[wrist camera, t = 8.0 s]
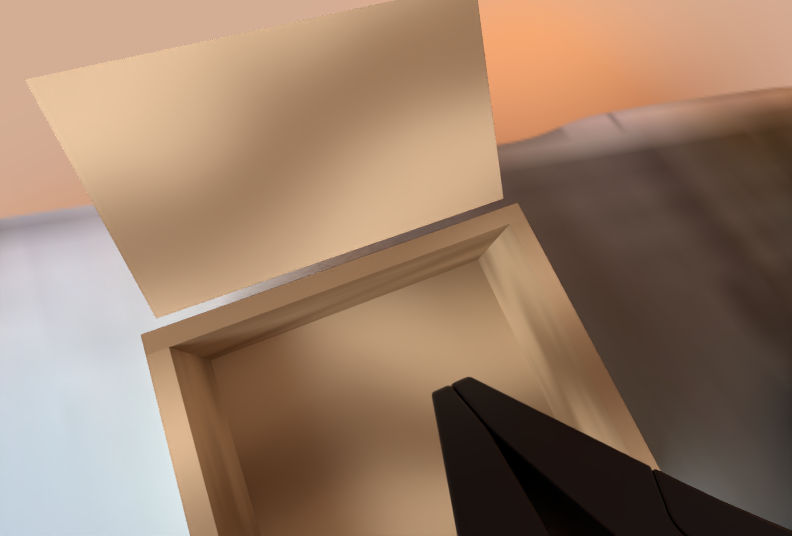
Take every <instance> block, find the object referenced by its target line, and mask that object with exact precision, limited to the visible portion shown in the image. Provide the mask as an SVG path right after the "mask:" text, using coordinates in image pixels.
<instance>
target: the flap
mask: <svg viewBox="0 0 792 536" xmlns="http://www.w3.org/2000/svg"><path fill="white" fill-rule="evenodd" d="M25 81H26V83H27V84H28V86H29V88H30V90H31V91H32V93H33V95H34V97H35V99H36V101H37V103H38V104H39V106H40V108H41V110H42V112H43V114H44V115H45V117H46V119H47V121H48V123H49V124H50V126H51V128H52V130H53V132H54V134H55V135H56V137H57V139H58V141H59V142H60V144H61V146H62V148H63V150H64V152H65V153H66V155H67V157H68V159H69V161H70V162H71V164H72V166H73V168H74V170H75V171H76V173H77V175H78V177H79V179H80V181H81V182H82V184H83V186H84V188H85V190H86V192H87V193H88V195H89V197H90V199H91V201H92V202H93V204H94V206H95V208H96V210H97V212H98V213H99V215H100V217H101V219H102V221H103V222H104V224H105V226H106V228H107V230H108V232H109V233H110V235H111V237H112V239H113V241H114V242H115V244H116V246H117V248H118V250H119V251H120V253H121V255H122V257H123V259H124V261H125V262H126V264H127V266H128V268H129V270H130V271H131V273H132V275H133V277H134V279H135V281H136V282H137V284H138V286H139V288H140V290H141V291H142V293H143V295H144V297H145V299H146V300H147V302H148V304H149V306H150V308H151V310H152V311H153V313H154V315H155V317H156V318H159V317H162V316H165V315H168V314H170V313H173V312H176V311H179V310H182V309H185V308H188V307H191V306H194V305H196V304H199V303H202V302H205V301H208V300H211V299H214V298H217V297H220V296H223V295H225V294H228V293H231V292H234V291H237V290H240V289H243V288H246V287H249V286H251V285H254V284H257V283H260V282H263V281H266V280H269V279H272V278H275V277H278V276H280V275H283V274H286V273H289V272H292V271H295V270H298V269H301V268H304V267H307V266H309V265H312V264H315V263H318V262H321V261H324V260H327V259H330V258H333V257H335V256H338V255H341V254H344V253H347V252H350V251H353V250H356V249H359V248H362V247H364V246H367V245H370V244H373V243H376V242H379V241H382V240H385V239H388V238H390V237H393V236H396V235H399V234H402V233H405V232H408V231H411V230H414V229H417V228H419V227H422V226H425V225H428V224H431V223H434V222H437V221H440V220H443V219H446V218H448V217H451V216H454V215H457V214H460V213H463V212H466V211H469V210H472V209H474V208H477V207H480V206H483V205H486V204H489V203H492V202H495V201H498V200H501V199H503V192H502V184H501V177H500V169H499V161H498V153H497V146H496V138H495V131H494V123H493V115H492V107H491V100H490V92H489V84H488V77H487V69H486V61H485V53H484V46H483V38H482V31H481V23H480V15H479V8H478V0H395V1H390V2H385V3H381V4H376V5H371V6H367V7H363V8H358V9H353V10H348V11H343V12H339V13H334V14H329V15H325V16H320V17H315V18H311V19H306V20H302V21H297V22H292V23H287V24H283V25H278V26H273V27H269V28H264V29H259V30H255V31H250V32H245V33H241V34H236V35H231V36H226V37H222V38H217V39H212V40H208V41H203V42H198V43H194V44H190V45H184V46H180V47H175V48H170V49H166V50H161V51H157V52H152V53H147V54H142V55H138V56H133V57H128V58H124V59H119V60H114V61H110V62H105V63H101V64H96V65H91V66H87V67H82V68H77V69H73V70H68V71H63V72H58V73H54V74H49V75H44V76H40V77H35V78H30V79H26V80H25Z"/></svg>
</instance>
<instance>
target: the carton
mask: <svg viewBox="0 0 792 536" xmlns="http://www.w3.org/2000/svg"><path fill="white" fill-rule="evenodd" d="M141 338H142V342H143V346H144V350H145V354H146V358H147V362H148V366H149V370H150V374H151V378H152V382H153V387H154V391H155V395H156V399H157V403H158V407H159V411H160V415H161V419H162V423H163V427H164V431H165V435H166V439H167V443H168V448H169V452H170V456H171V460H172V464H173V468H174V472H175V476H176V480H177V484H178V488H179V492H180V496H181V500H182V505H183V509H184V513H185V517H186V521H187V525H188V529H189V533H190V536H457V532H456V526H455V521H454V516H453V510H452V505H451V499H450V494H449V488H448V483H447V477H446V472H445V466H444V461H443V455H442V450H441V445H440V439H439V434H438V428H437V423H436V417H435V412H434V406H433V401H432V392H434V391H436V390H438V389H440V388H442V387H445V386H447V385H449V386H451V385H452V383H454V382H456V381H458V380H460V379H463V378H465V377H472V378H474V379H476V380H478V381H480V382H482V383H484V384H486V385H488V386H490V387H492V388H494V389H496V390H498V391H500V392H502V393H504V394H506V395H508V396H510V397H512V398H514V399H516V400H518V401H520V402H522V403H524V404H526V405H528V406H530V407H532V408H534V409H536V410H538V411H540V412H542V413H544V414H547V415H549V416H551V417H553V418H555V419H557V420H559V421H561V422H563V423H565V424H567V425H569V426H571V427H573V428H575V429H577V430H579V431H581V432H583V433H585V434H587V435H589V436H591V437H593V438H595V439H597V440H599V441H601V442H603V443H605V444H607V445H609V446H611V447H613V448H615V449H617V450H619V451H621V452H623V453H625V454H627V455H629V456H631V457H633V458H635V459H637V460H639V461H641V462H643V463H645V464H647V465H649V466H650V467H651V469H652V470H653V469H657V470H659V471H660V469H659V467H658V465H657V463H656V461H655V460H654V458H653V456H652V454H651V452H650V450H649V448H648V446H647V444H646V443H645V441H644V439H643V437H642V435H641V433H640V431H639V429H638V428H637V426H636V424H635V422H634V420H633V418H632V416H631V414H630V413H629V411H628V409H627V407H626V405H625V403H624V401H623V399H622V398H621V396H620V394H619V392H618V390H617V388H616V386H615V384H614V383H613V381H612V379H611V377H610V375H609V373H608V371H607V369H606V368H605V366H604V364H603V362H602V360H601V358H600V356H599V354H598V353H597V351H596V349H595V347H594V345H593V343H592V341H591V339H590V338H589V336H588V334H587V332H586V330H585V328H584V326H583V324H582V323H581V321H580V319H579V317H578V315H577V313H576V311H575V309H574V308H573V306H572V304H571V302H570V300H569V298H568V296H567V294H566V293H565V291H564V289H563V287H562V285H561V283H560V281H559V279H558V278H557V276H556V274H555V272H554V270H553V268H552V266H551V264H550V263H549V261H548V259H547V257H546V255H545V253H544V251H543V249H542V248H541V246H540V244H539V242H538V240H537V238H536V236H535V234H534V233H533V231H532V229H531V227H530V225H529V223H528V221H527V219H526V218H525V216H524V214H523V212H522V210H521V208H520V206H519V204H518V203H515V204H512V205H509V206H506V207H504V208H501V209H498V210H495V211H492V212H489V213H487V214H484V215H481V216H478V217H475V218H472V219H469V220H467V221H464V222H461V223H458V224H455V225H452V226H449V227H447V228H444V229H441V230H438V231H435V232H432V233H429V234H427V235H424V236H421V237H418V238H415V239H412V240H410V241H407V242H404V243H401V244H398V245H395V246H392V247H390V248H387V249H384V250H381V251H378V252H375V253H372V254H370V255H367V256H364V257H361V258H358V259H355V260H353V261H350V262H347V263H344V264H341V265H338V266H335V267H333V268H330V269H327V270H324V271H321V272H318V273H315V274H313V275H310V276H307V277H304V278H301V279H298V280H295V281H293V282H290V283H287V284H284V285H281V286H278V287H276V288H273V289H270V290H267V291H264V292H261V293H258V294H256V295H253V296H250V297H247V298H244V299H241V300H238V301H236V302H233V303H230V304H227V305H224V306H221V307H218V308H216V309H213V310H210V311H207V312H204V313H201V314H199V315H196V316H193V317H190V318H187V319H184V320H181V321H179V322H176V323H173V324H170V325H167V326H164V327H161V328H159V329H156V330H153V331H150V332H147V333H144V334H142V335H141Z"/></svg>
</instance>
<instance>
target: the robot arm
mask: <svg viewBox="0 0 792 536" xmlns="http://www.w3.org/2000/svg"><path fill="white" fill-rule="evenodd" d="M432 401H433V406H434V412H435V417H436V423H437V428H438V434H439V439H440V445H441V450H442V455H443V461H444V466H445V472H446V477H447V483H448V488H449V494H450V499H451V505H452V510H453V516H454V521H455V526H456V532H457V536H792V530H789V529H787V528H784V527H782V526H780V525H777V524H775V523H772V522H770V521H767V520H765V519H763V518H760V517H758V516H756V515H754V514H751V513H749V512H747V511H744V510H742V509H740V508H737V507H735V506H733V505H730V504H728V503H726V502H723V501H721V500H719V499H717V498H715V497H713V496H710V495H708V494H706V493H704V492H702V491H700V490H698V489H696V488H694V487H692V486H689V485H687V484H685V483H683V482H681V481H679V480H677V479H675V478H673V477H671V476H669V475H667V474H665V473H663V472H661V471H659V470H657V469H653V470H652V469H651V467H650V466H649V465H647V464H645V463H643V462H641V461H639V460H637V459H635V458H633V457H631V456H629V455H627V454H625V453H623V452H621V451H619V450H617V449H615V448H613V447H611V446H609V445H607V444H605V443H603V442H601V441H599V440H597V439H595V438H593V437H591V436H589V435H587V434H585V433H583V432H581V431H579V430H577V429H575V428H573V427H571V426H569V425H567V424H565V423H563V422H561V421H559V420H557V419H555V418H553V417H551V416H549V415H547V414H544V413H542V412H540V411H538V410H536V409H534V408H532V407H530V406H528V405H526V404H524V403H522V402H520V401H518V400H516V399H514V398H512V397H510V396H508V395H506V394H504V393H502V392H500V391H498V390H496V389H494V388H492V387H490V386H488V385H486V384H484V383H482V382H480V381H478V380H476V379H474V378H472V377H465V378H463V379H460V380H458V381H456V382H454V383H452V385H451V386H449V385H447V386H445V387H442V388H440V389H438V390H436V391H434V392H432Z"/></svg>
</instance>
